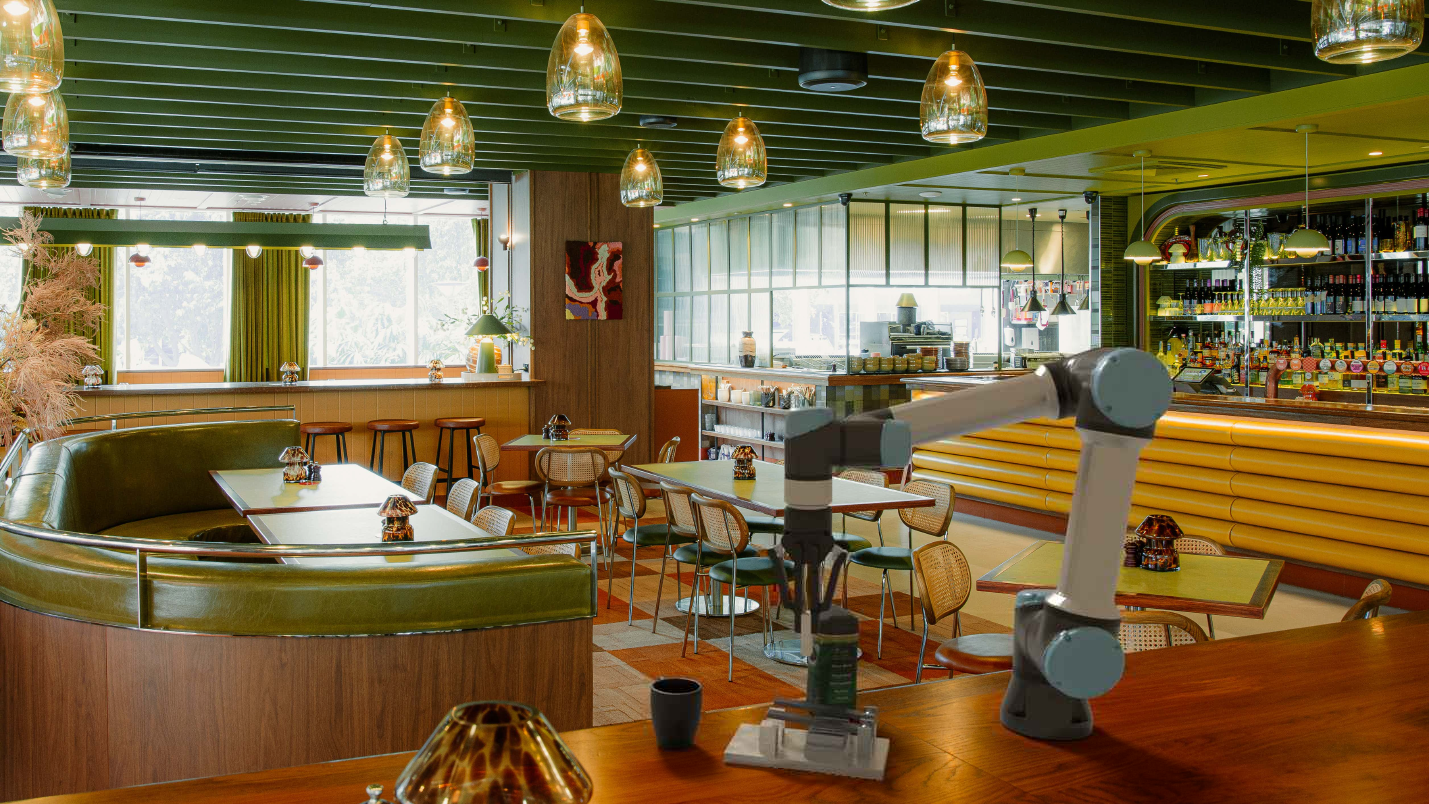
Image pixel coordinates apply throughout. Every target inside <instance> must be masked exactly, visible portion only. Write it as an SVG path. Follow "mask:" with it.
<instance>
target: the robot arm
mask: <svg viewBox="0 0 1429 804" xmlns="http://www.w3.org/2000/svg"><path fill="white" fill-rule="evenodd" d="M1173 393H1174V385H1173V380H1172V377H1171V374H1170V371H1169V370H1168V369H1167V367H1166V366H1165V364H1164V363H1163V362H1162V360H1161V359H1159V358H1158V357H1157V356H1155V355H1154V354H1152V353H1150V352H1147V351H1145V350H1142V349H1138V348H1134V347H1131V346H1130V347H1124V346H1119V347H1110V346H1101V347H1094V348H1091V349H1087V350H1084V351H1080V352H1079V353H1076V354H1073V355H1070V356H1067V357H1064V358H1061V359H1057V360H1054V361H1051V362H1047V363H1043V364H1042V363H1041V364H1039V365H1037V368H1036V369H1035V371H1034V372H1030V373H1027V374H1022V375H1018V376H1014V377H1011V378H1005V379H1000V380H998V381H993V382H989V383H984V384H981V385H976V386H972V387H967V388H964V389H960V390H959V389H958V390H955V391H954V390H953V391H951V392H948V393H947V392H946V393H943V394H938V395H934V396H930V397H925V398H922V399H918V400H913V401H912V400H911V401H910V402H905V403H901V404H896V405H892V406H889V407H885V408H880V409H876V410H873V411H872V410H871V411H858V412H854V413H852V414H850V415H848V416H847V417H846V418H845V419H838V418H837V419H836V418H835V416H834V410H833V409H832V408H831V407H830V406H829V407H827V406H815V405H814V406H812V405H811V406H810V405H807V406H806V405H805V406H804V405H803V406H801V405H800V406H793V407H790V408H788V410H787V411H786V413H785V421H784V435H783V439H784V441H783V442H784V449H783V451H784V453H783V454H784V458H783V459H784V461H783V462H784V466H783V467H784V477H783V479H784V480H783V488H784V489H783V502H784V503H786V506H785V507H783V534H782V537H780V542H779V543H776V544H775V545H770V547H768V549H767V551H766V555H767V556H768V558H769V559H770V561H771V563H772V564H773V569H774V574H775V578H776V582H777V587H778V591H779V594H780V600H781V602H782V603H781V604H782V608H783V609H785V610H789V611H791V612H793V614H794V615H793V616H794V632H795V634H800V656H802V657H808V656H811V654H812V652H813V634H818V632H819V629H820V613H821V612H824V611H828V610H829V609H830V607H831V605H832V604H833V601H834V597H835V593H836V590H837V586H838V581H839V577H840V574H841V569H842V567H843V565H844V563H845V561H846V560H847V558H848V556H849V554H850V552H849V550H848V549H846V548H845V549H843V548H842V547H840V546H839V545H837V544H836V540H835V537H834V536H833V508H832V507H831V506H829V505H830V504H832V503H833V471H834V470H833V469H834V468H841V469H843V468H859V469H860V468H862V469H865V468H867V469H886V470H890V469H896V468H902V469H903V468H906V467H907V466H908V465H909V464H910V461H911V455H912V448H914V447H916V448H917V447H920V446H924V445H928V444H932V443H937V442H941V441H945V440H950V439H954V438H959V437H963V436H967V435H972V434H976V433H981V432H984V431H989V430H993V429H997V428H1002V427H1006V426H1011V425H1015V424H1018V423H1023V422H1028V421H1032V420H1037V419H1041V418H1044V417H1045V418H1048V419H1049V420H1051V421H1053V422H1055V421H1058V420H1059V421H1060V420H1063V419H1068V418H1075V423H1074V426H1073V427H1074V430H1075V432H1076V433H1077V435H1079V437H1080V439H1081V441H1082V442H1081V448H1080V452H1079V453H1080V454H1079V459H1078V464H1077V469H1076V470H1077V471H1076V476H1075V482H1074V487H1073V493H1072V499H1071V503H1070V504H1071V505H1070V512H1069V515H1068V516H1069V517H1068V522H1067V530H1066V533H1065V540H1064V546H1063V551H1062V557H1061V558H1062V559H1061V563H1060V568H1059V569H1060V570H1059V574H1058V575H1059V576H1058V580H1057V587H1056V589H1047V588H1046V589H1042V588H1041V589H1039V588H1038V589H1037V588H1035V589H1031V588H1030V589H1024V590H1021V591H1018V592H1017V594H1016V597H1015V601H1014V603H1015V604H1014V607H1013V611H1014V614H1013V615H1014V617H1013V648H1012V672H1011V678H1010V681H1009V684H1008V686H1007V689H1006V691H1005V694H1004V696H1003V699H1002V701H1001V704H1000V710H999V711H1000V712H999V721H1000V723H1001V724H1002V725H1003V726H1004V727H1006V728H1007V729H1009V730H1011V731H1013V732H1015V733H1018V734H1022V735H1025V736H1027V737H1031V738H1036V739H1042V740H1048V741H1049V740H1050V741H1072V740H1074V741H1075V740H1080V739H1084V738H1086V737H1089V736H1090V735H1091V734H1092V733H1093V730H1094V729H1093V728H1094V717H1093V716H1094V715H1093V713H1092V709H1091V705H1090V702H1089V699H1094V698H1097V697H1100V696H1102V695H1103V694H1106V693H1107V692H1109V691H1111V690H1112V689H1113V688H1114V687H1115V686H1116V685H1117V684H1118V682H1119V681H1120V679H1121V678H1122V675H1123V673H1124V669H1125V665H1126V664H1125V662H1126V659H1125V654H1124V651H1123V650H1124V649H1123V647H1122V644H1121V643H1120V642H1119V635H1120V631H1121V630H1120V629H1121V624H1122V618H1123V613H1122V612H1121V610H1120V609H1119V608H1118V606H1117V605H1116V603H1115V597H1116V592H1117V591H1116V590H1117V585H1118V580H1119V575H1120V574H1119V573H1120V568H1121V565H1122V556H1123V551H1124V547H1125V539H1126V535H1127V534H1126V533H1127V528H1128V524H1129V523H1128V522H1129V517H1130V513H1131V506H1132V499H1133V494H1134V490H1135V484H1136V479H1137V472H1138V466H1139V461H1140V455H1141V451H1142V449H1144V448H1145V447H1146V446H1149V445H1150V444H1151V443H1152V442H1154V437H1155V431H1156V426H1157V421H1159V420H1160V419H1161V418H1162V417H1163V416H1164V415H1165V414H1166V413H1167V411H1168V410H1169V408H1170V406H1171V403H1172V400H1173V396H1174V394H1173ZM784 552H785V553H786V554H787V555H788V557H789V558H790V560H791V561H792V562H793V571H794V577H793V580H794V581H793V582H794V583H793V585H794V589H793V594H794V595H792V592H791V587H790V584H789V580H788V579H789V578H788V576H787V575H788V574H787V570H786V566H785V562H784V558H783V556H784V554H785V553H784ZM831 552H832V555H831V557H832V558H831V559H832V561H834V562H833V564H832V567H831V570H830V575H829V578H828V582H827V587H826V590H825V593H824V598H823V601H821V571H822V570H821V569H822V568H821V567H822V563H823V562H824V561H825V559H826V558H827V556H828V555H829V554H830V553H831ZM806 565H808V566H809V568H810V571H809V572H810V610H804V608H805V567H806ZM792 596H793V597H792ZM793 599H794V600H793Z"/></svg>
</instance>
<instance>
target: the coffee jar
mask: <svg viewBox="0 0 1429 804" xmlns="http://www.w3.org/2000/svg"><path fill="white" fill-rule="evenodd" d="M859 622H860V620H859V617H858V616H856V615H855V614H854V613H852V612H851V611H849V610H847V609H846V608H843V607H841V606H839V605H838V604H833V603H832V605H831V607H830V609H829V610H828V611H824V612H821V613H820V629H819V632H818V634H813V652H812V654H811V656H807V657H808V659H807V660H808V661H807V679H806V680H807V681H806V691H805V693H806V694H805V696H806V697H805V702H811V703H817V704H823V705H829V706H834V707H840V708H846V709H852V710H857V702H858V701H857V700H858V699H857V698H858V695H857V694H858V693H857V692H858V688H857V687H858V685H857V684H858V680H857V679H858V647H859V646H858V645H859V637H860V623H859ZM809 712H810V713H811V714H812V715H813V717H814V716H817V717H827V718H837V719H846V720H850V718H847V717H841V716H835V715H829V714H824V713H818V712H812V711H809Z"/></svg>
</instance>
